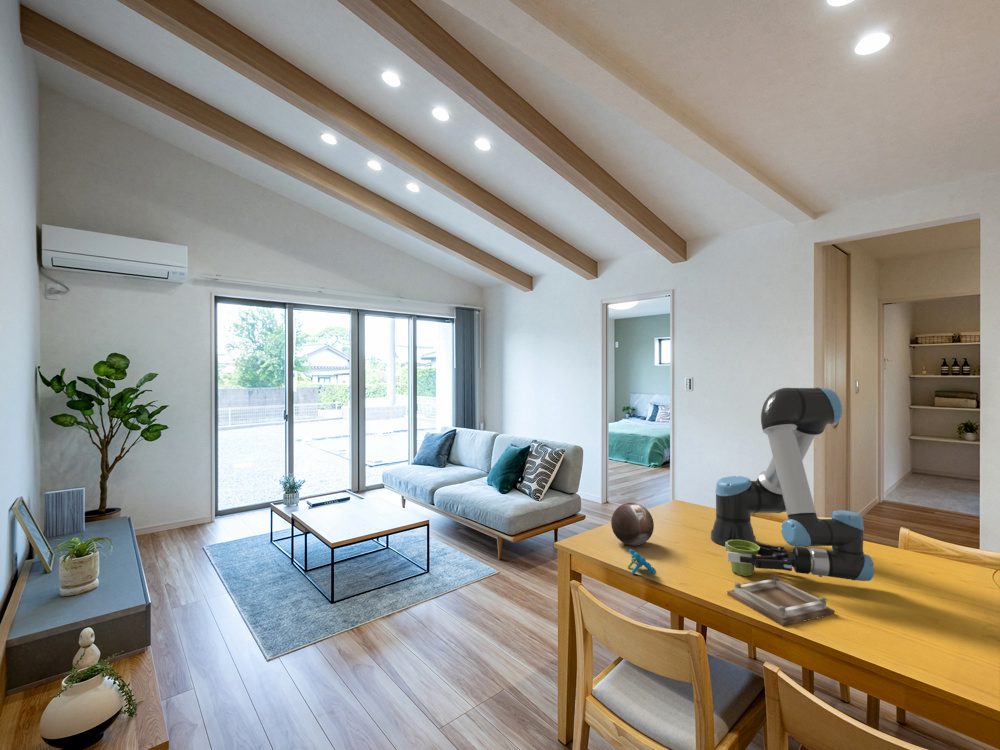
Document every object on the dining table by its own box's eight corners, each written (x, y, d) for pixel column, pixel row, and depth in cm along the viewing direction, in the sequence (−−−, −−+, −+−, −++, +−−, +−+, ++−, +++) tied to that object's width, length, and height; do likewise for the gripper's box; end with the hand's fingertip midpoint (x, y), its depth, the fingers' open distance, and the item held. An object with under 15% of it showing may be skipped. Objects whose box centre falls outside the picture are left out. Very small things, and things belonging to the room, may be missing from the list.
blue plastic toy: (663, 573, 149) (639, 551, 149) (651, 589, 148) (627, 566, 148) (647, 564, 160) (625, 543, 160) (635, 578, 159) (613, 557, 158)
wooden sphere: (632, 555, 168) (632, 511, 168) (602, 541, 181) (602, 501, 181) (662, 546, 176) (662, 505, 176) (631, 534, 189) (632, 496, 189)
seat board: (775, 585, 145) (775, 573, 144) (834, 613, 128) (834, 600, 128) (727, 594, 139) (727, 582, 139) (782, 626, 122) (783, 611, 122)
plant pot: (756, 568, 156) (757, 541, 156) (762, 580, 147) (762, 552, 147) (724, 564, 159) (725, 538, 159) (728, 576, 150) (728, 548, 150)
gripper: (818, 588, 137) (729, 576, 145) (801, 560, 157) (723, 551, 165) (818, 561, 137) (729, 551, 145) (801, 537, 157) (723, 529, 165)
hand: (726, 551), depth 155 cm, fingers closed on plant pot, 8 cm apart
